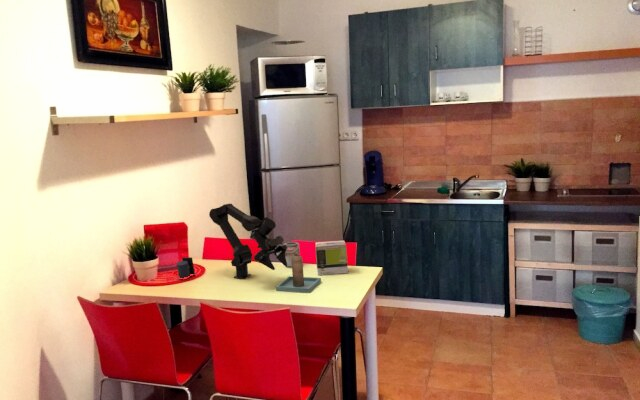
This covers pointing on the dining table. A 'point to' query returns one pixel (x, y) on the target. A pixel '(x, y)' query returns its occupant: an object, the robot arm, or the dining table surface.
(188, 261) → the speaker
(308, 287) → the tray
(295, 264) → the pepper mill
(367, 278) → the dining table surface
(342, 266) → the tea box
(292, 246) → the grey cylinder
